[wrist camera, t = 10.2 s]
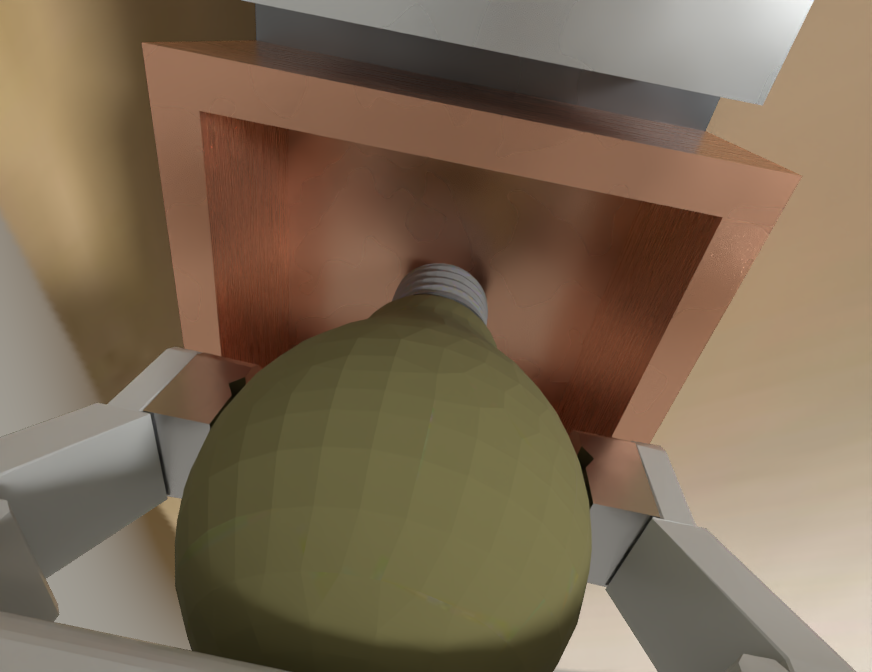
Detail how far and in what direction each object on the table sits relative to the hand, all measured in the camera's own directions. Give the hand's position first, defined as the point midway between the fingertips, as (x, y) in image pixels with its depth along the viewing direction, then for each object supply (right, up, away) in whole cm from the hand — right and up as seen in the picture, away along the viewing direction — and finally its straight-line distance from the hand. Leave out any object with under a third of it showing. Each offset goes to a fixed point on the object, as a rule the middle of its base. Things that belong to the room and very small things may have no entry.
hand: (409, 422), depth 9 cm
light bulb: (+1, +3, +5) cm, 6 cm away
